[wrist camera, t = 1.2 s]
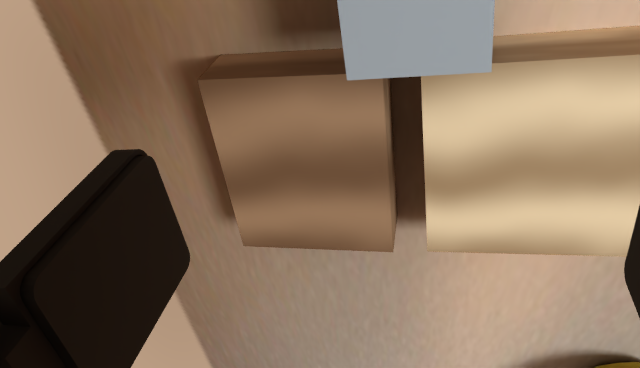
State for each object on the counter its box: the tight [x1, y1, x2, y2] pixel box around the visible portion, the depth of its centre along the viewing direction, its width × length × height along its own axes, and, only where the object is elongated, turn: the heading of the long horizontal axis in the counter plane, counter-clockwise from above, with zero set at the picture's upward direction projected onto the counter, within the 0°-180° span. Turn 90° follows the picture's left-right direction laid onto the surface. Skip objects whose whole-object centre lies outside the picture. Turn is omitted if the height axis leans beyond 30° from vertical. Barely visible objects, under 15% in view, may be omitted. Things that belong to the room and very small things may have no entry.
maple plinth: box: [421, 26, 640, 257], centre depth 28 cm, size 12×12×4 cm
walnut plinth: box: [197, 48, 397, 252], centre depth 31 cm, size 12×10×4 cm
